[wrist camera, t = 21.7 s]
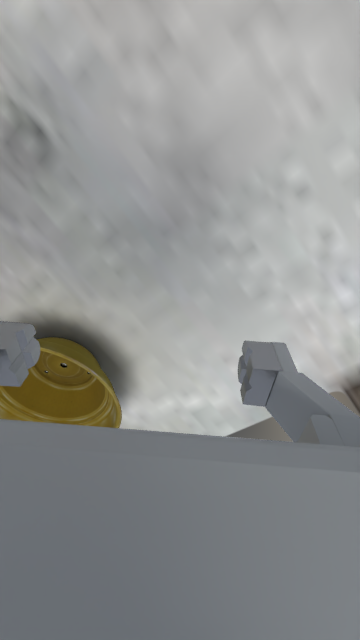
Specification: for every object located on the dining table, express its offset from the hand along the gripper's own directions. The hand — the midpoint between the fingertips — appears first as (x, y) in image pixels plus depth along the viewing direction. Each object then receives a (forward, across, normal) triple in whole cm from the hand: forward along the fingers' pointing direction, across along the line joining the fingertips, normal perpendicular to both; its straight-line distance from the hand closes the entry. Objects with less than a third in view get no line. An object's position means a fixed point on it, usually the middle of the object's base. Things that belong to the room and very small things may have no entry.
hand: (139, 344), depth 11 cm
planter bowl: (+39, +25, +40) cm, 61 cm away
